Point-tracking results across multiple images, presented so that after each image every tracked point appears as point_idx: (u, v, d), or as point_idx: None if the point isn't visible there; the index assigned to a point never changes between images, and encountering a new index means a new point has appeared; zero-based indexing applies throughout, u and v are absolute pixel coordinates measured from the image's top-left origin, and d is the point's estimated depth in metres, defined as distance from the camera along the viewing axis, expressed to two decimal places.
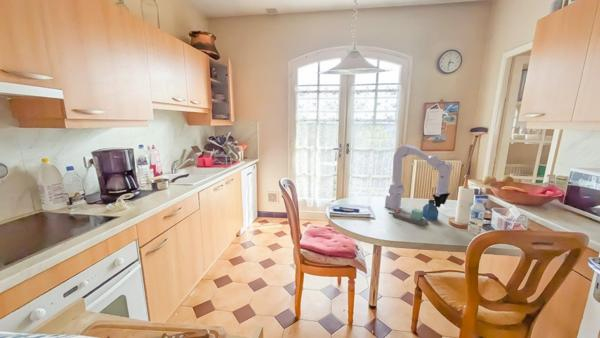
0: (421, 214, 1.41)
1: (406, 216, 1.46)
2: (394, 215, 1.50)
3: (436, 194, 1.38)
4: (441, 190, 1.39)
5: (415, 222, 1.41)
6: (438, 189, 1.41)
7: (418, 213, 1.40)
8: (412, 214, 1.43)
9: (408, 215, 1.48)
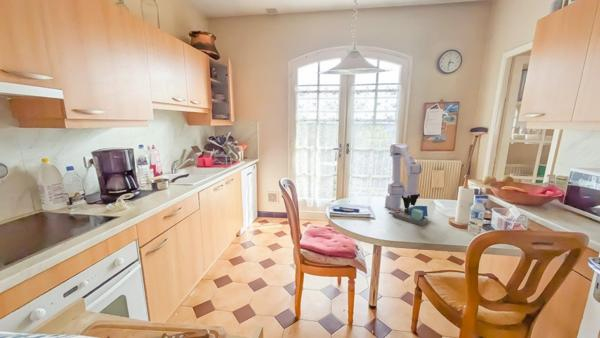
0: (421, 214, 1.41)
1: (406, 216, 1.46)
2: (394, 215, 1.50)
3: (404, 195, 1.37)
4: (410, 191, 1.39)
5: (415, 222, 1.41)
6: (407, 190, 1.40)
7: (418, 213, 1.40)
8: (412, 214, 1.43)
9: (408, 215, 1.48)
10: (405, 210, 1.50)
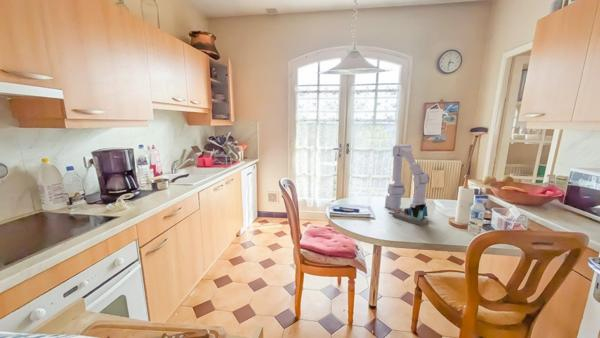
0: (421, 214, 1.41)
1: (406, 216, 1.46)
2: (394, 215, 1.50)
3: (412, 205, 1.37)
4: (417, 201, 1.39)
5: (415, 222, 1.41)
6: (414, 200, 1.40)
7: (418, 213, 1.40)
8: (412, 214, 1.43)
9: (408, 215, 1.48)
10: (405, 210, 1.50)
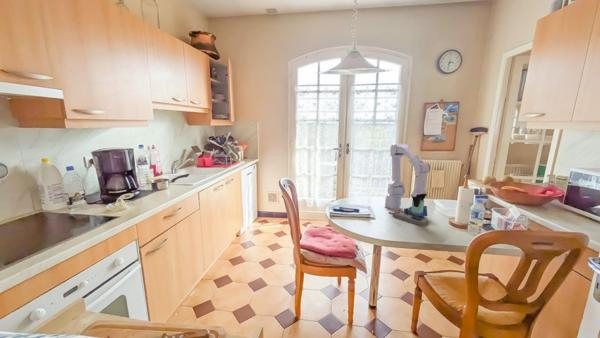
0: (422, 204, 1.39)
1: (406, 216, 1.46)
2: (394, 215, 1.50)
3: (413, 194, 1.35)
4: (418, 190, 1.37)
5: (415, 222, 1.41)
6: (415, 189, 1.39)
7: None
8: (413, 204, 1.42)
9: (408, 215, 1.48)
10: (405, 210, 1.50)
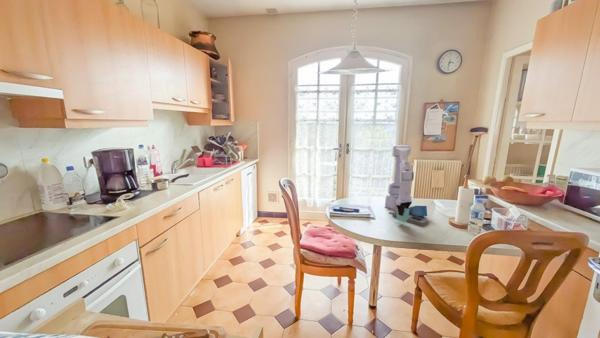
0: (407, 212, 1.37)
1: None
2: (394, 215, 1.50)
3: (397, 203, 1.33)
4: (402, 199, 1.35)
5: (415, 222, 1.41)
6: (400, 197, 1.36)
7: (404, 211, 1.36)
8: None
9: None
10: None
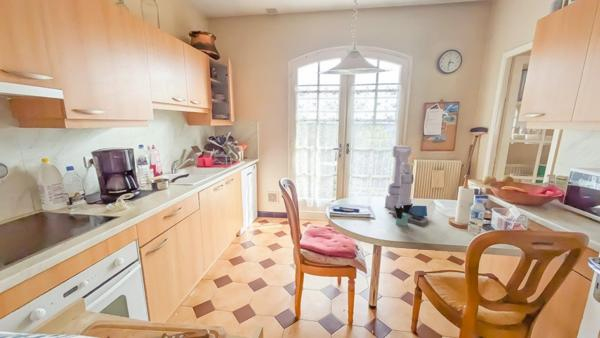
0: (406, 217, 1.37)
1: None
2: (394, 215, 1.50)
3: (396, 206, 1.33)
4: (402, 201, 1.35)
5: (415, 222, 1.41)
6: (399, 200, 1.37)
7: (403, 216, 1.37)
8: None
9: None
10: None
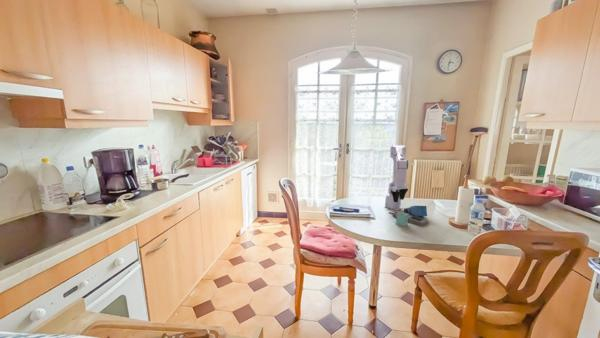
0: (406, 217, 1.37)
1: None
2: (394, 215, 1.50)
3: (393, 189, 1.44)
4: (398, 186, 1.46)
5: (415, 222, 1.41)
6: (396, 185, 1.47)
7: (403, 216, 1.37)
8: (397, 217, 1.40)
9: (408, 215, 1.48)
10: (404, 210, 1.50)
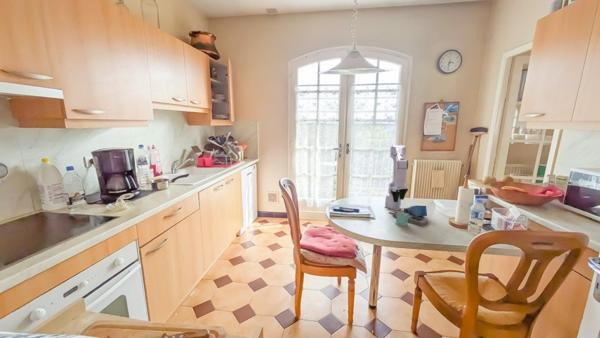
0: (406, 217, 1.37)
1: None
2: (394, 215, 1.50)
3: (393, 189, 1.44)
4: (398, 186, 1.46)
5: (415, 222, 1.41)
6: (396, 185, 1.47)
7: (403, 216, 1.37)
8: (397, 217, 1.40)
9: (408, 215, 1.48)
10: (404, 210, 1.51)
